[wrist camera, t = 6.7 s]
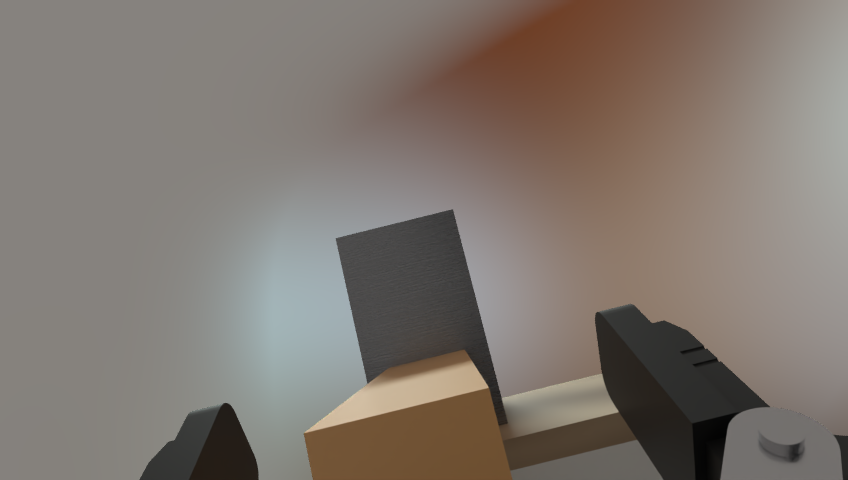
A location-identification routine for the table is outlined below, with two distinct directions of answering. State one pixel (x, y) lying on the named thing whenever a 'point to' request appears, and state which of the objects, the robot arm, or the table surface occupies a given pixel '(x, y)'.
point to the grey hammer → (414, 364)
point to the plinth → (571, 435)
